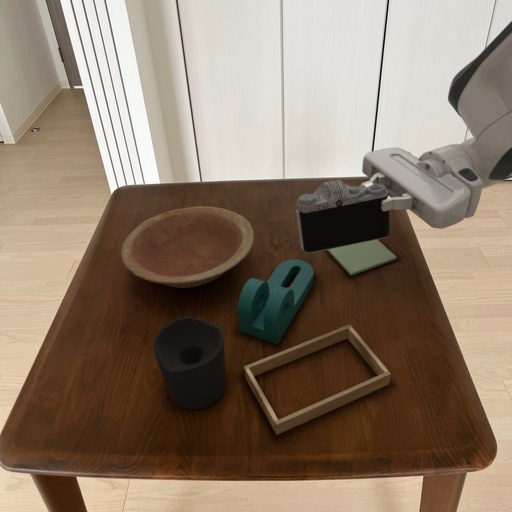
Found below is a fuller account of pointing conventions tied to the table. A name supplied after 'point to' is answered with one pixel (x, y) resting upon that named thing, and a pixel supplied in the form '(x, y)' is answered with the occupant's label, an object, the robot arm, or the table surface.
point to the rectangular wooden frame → (326, 404)
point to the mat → (362, 256)
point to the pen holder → (191, 362)
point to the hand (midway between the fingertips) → (371, 197)
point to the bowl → (187, 246)
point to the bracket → (274, 300)
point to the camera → (341, 216)
